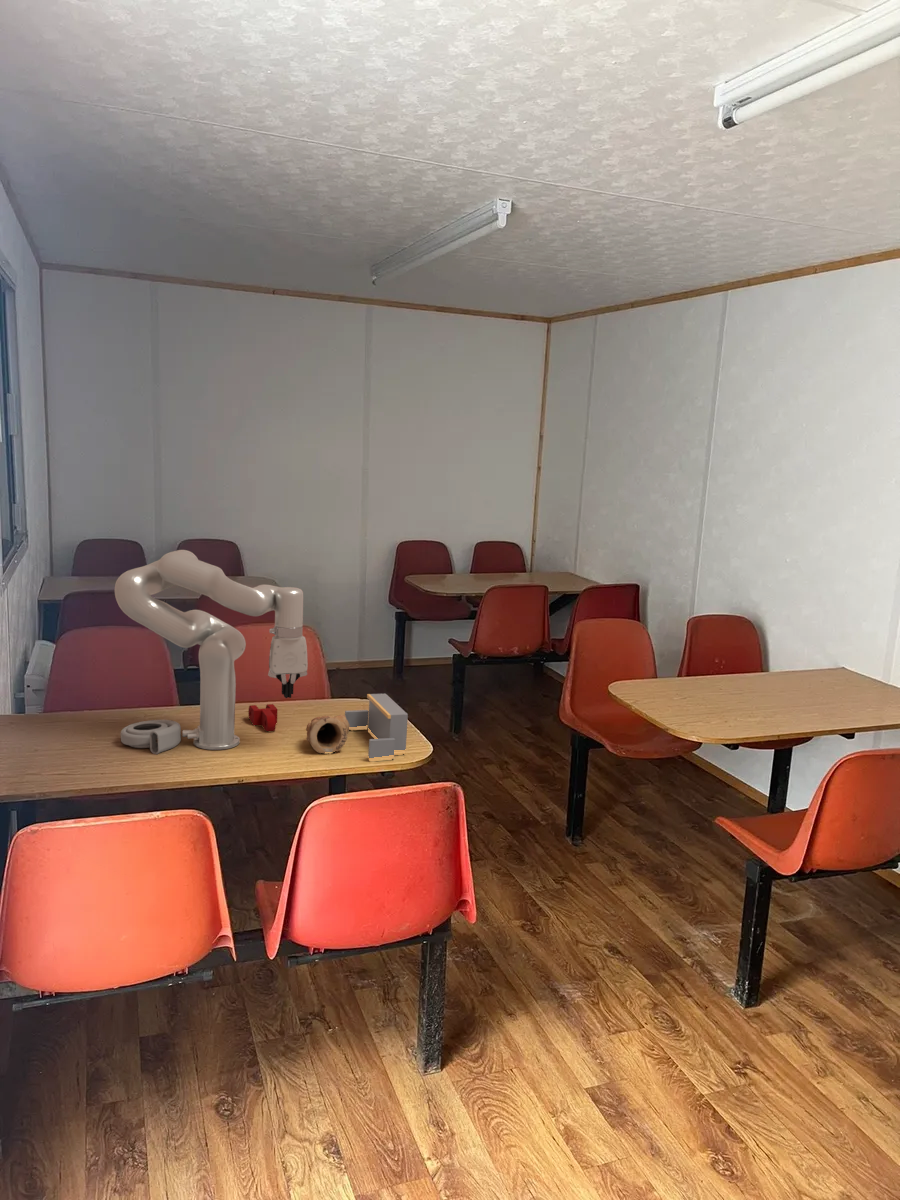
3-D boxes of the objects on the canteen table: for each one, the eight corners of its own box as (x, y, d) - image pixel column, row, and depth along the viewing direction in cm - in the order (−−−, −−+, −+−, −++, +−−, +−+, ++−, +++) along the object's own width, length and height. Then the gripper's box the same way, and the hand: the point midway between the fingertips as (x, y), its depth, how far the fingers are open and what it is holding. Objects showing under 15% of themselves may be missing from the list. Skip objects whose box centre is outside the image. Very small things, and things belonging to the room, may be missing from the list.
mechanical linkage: (248, 719, 271) (248, 703, 270) (271, 717, 274) (271, 702, 273) (259, 734, 257) (259, 718, 256) (283, 733, 260) (283, 716, 259)
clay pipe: (291, 760, 247) (324, 757, 237) (284, 723, 248) (317, 719, 238) (340, 745, 261) (374, 742, 251) (334, 710, 262) (367, 706, 252)
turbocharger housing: (151, 735, 253) (110, 748, 240) (150, 713, 252) (108, 725, 239) (195, 743, 246) (155, 757, 232) (194, 720, 245) (154, 733, 231)
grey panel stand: (369, 761, 239) (371, 719, 237) (344, 729, 266) (345, 691, 264) (409, 759, 243) (411, 718, 241) (380, 727, 270) (382, 690, 268)
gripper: (263, 635, 233) (262, 701, 236) (318, 634, 239) (316, 699, 242) (259, 630, 240) (258, 694, 243) (312, 629, 246) (311, 692, 249)
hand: (287, 696), depth 242 cm, fingers closed
